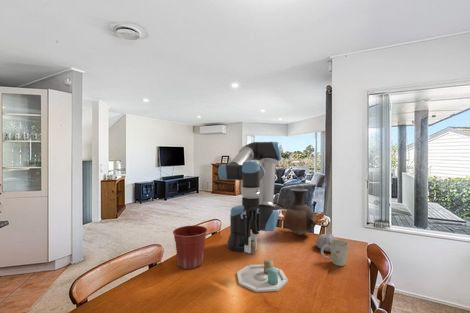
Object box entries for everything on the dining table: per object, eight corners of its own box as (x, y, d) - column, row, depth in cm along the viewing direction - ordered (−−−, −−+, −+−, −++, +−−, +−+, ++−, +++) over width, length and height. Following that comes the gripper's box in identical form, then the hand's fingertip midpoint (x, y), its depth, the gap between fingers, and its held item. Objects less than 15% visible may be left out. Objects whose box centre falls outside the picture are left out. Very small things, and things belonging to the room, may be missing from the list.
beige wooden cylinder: (262, 272, 103) (262, 261, 103) (266, 269, 106) (266, 258, 106) (269, 275, 100) (269, 264, 100) (274, 272, 103) (274, 260, 103)
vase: (322, 240, 145) (322, 191, 144) (292, 242, 142) (292, 192, 141) (304, 228, 167) (305, 186, 167) (279, 230, 164) (279, 187, 164)
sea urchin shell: (337, 244, 138) (337, 231, 138) (344, 254, 124) (344, 239, 124) (313, 243, 140) (313, 230, 140) (318, 252, 126) (318, 238, 126)
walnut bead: (244, 253, 102) (244, 242, 102) (249, 250, 105) (249, 239, 105) (251, 255, 99) (251, 244, 99) (257, 252, 102) (257, 241, 102)
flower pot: (166, 263, 113) (166, 230, 113) (193, 253, 125) (193, 223, 125) (186, 275, 102) (186, 239, 102) (214, 263, 114) (214, 230, 114)
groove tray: (228, 281, 97) (228, 277, 97) (255, 264, 113) (255, 260, 113) (269, 300, 85) (269, 295, 85) (294, 278, 100) (294, 274, 100)
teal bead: (265, 282, 95) (266, 270, 95) (271, 278, 98) (271, 266, 98) (274, 286, 92) (274, 273, 92) (279, 282, 95) (279, 269, 95)
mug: (350, 268, 109) (350, 246, 109) (322, 265, 112) (322, 244, 112) (345, 260, 117) (345, 240, 117) (319, 257, 120) (319, 238, 120)
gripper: (246, 200, 93) (245, 259, 93) (268, 195, 106) (268, 246, 106) (231, 198, 98) (231, 254, 98) (254, 193, 111) (254, 242, 111)
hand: (250, 250), depth 102 cm, fingers closed on walnut bead, 4 cm apart
